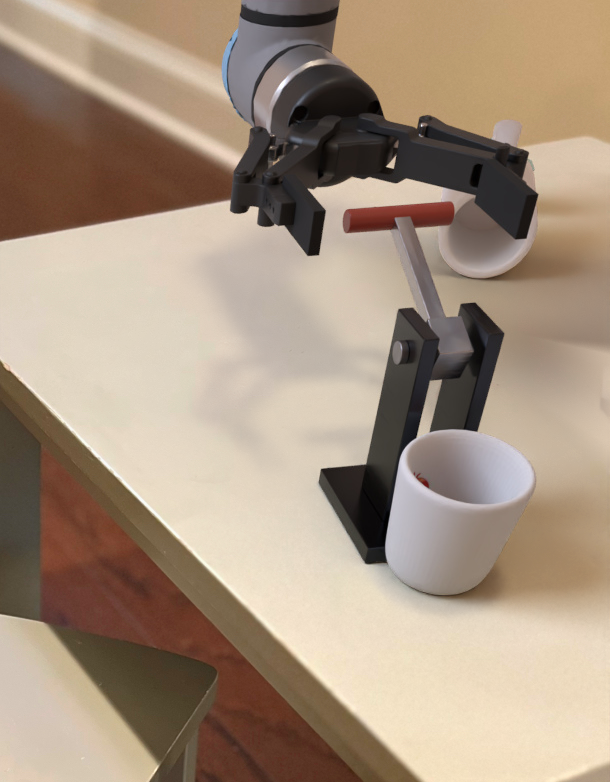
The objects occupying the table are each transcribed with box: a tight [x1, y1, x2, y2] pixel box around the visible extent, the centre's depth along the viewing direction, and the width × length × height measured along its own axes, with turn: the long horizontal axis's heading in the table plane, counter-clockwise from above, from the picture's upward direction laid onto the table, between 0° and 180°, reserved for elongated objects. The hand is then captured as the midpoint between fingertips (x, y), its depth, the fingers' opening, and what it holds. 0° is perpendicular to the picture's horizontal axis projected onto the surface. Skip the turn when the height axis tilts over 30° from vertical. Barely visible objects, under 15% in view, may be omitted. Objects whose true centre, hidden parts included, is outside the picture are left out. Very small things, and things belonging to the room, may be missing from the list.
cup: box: [385, 429, 537, 596], centre depth 74 cm, size 11×8×8 cm
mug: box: [437, 118, 539, 279], centre depth 107 cm, size 8×10×12 cm
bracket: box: [317, 301, 505, 564], centre depth 76 cm, size 10×9×14 cm
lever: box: [342, 201, 474, 382], centre depth 74 cm, size 13×7×2 cm, turn 8°
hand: (422, 225), depth 73 cm, fingers open, 13 cm apart
